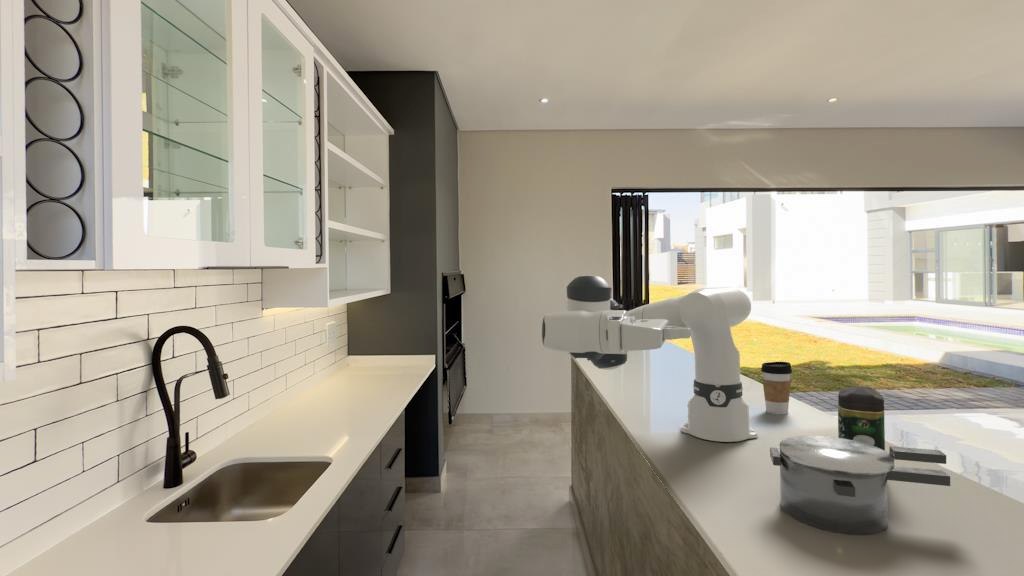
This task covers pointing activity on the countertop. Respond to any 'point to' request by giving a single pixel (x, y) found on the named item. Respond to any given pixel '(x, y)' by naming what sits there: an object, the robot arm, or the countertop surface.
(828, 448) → the lid
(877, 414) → the coffee jar
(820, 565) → the countertop surface
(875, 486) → the pot
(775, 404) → the coffee cup
